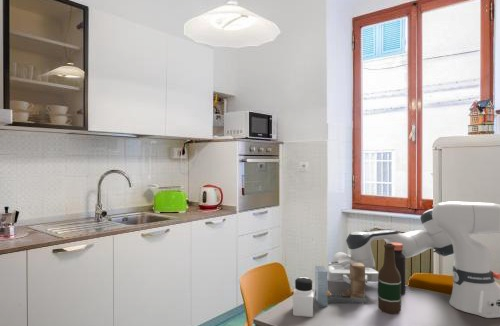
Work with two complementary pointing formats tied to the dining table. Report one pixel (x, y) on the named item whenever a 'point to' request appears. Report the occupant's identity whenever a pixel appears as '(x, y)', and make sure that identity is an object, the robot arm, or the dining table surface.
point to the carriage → (356, 281)
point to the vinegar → (400, 264)
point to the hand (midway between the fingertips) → (358, 281)
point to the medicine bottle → (303, 298)
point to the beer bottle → (389, 283)
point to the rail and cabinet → (321, 290)
